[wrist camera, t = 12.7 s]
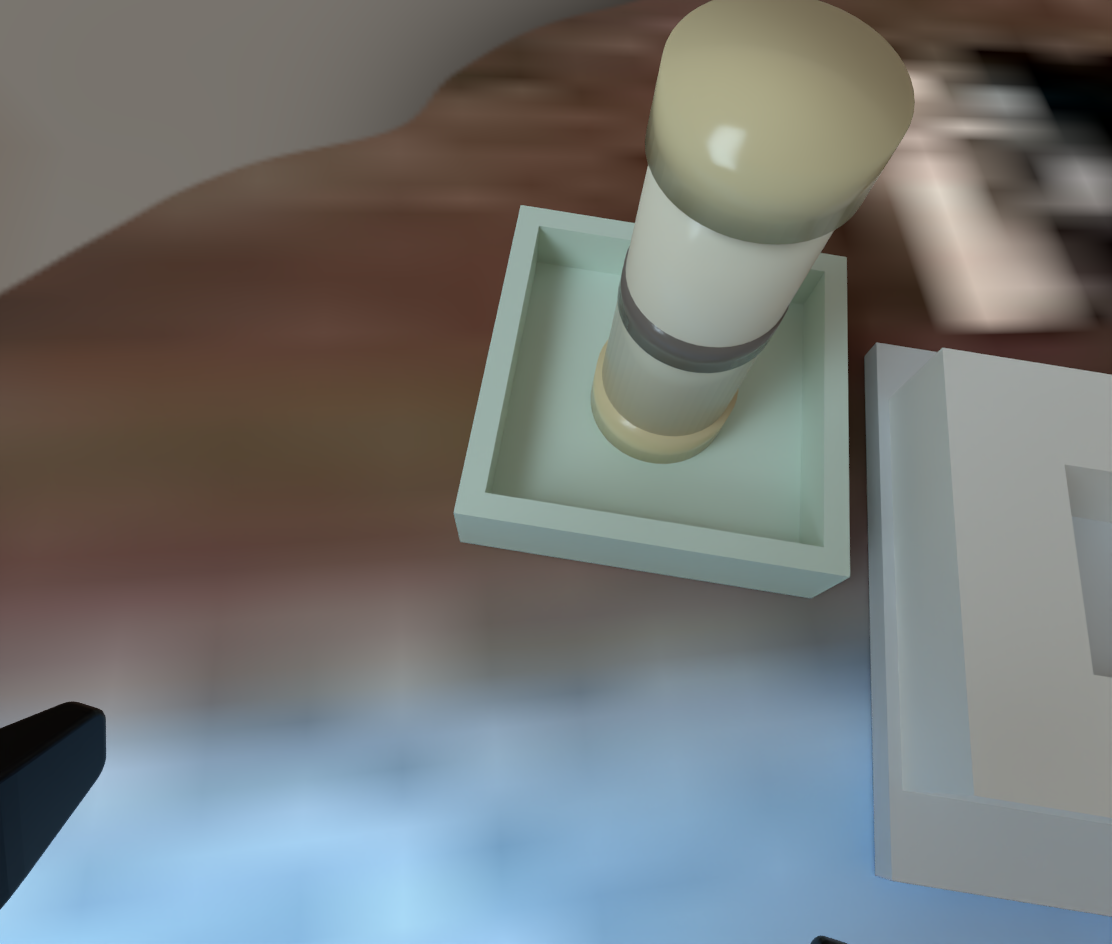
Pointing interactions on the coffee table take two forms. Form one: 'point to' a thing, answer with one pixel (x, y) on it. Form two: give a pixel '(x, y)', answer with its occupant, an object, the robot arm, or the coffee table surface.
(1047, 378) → the grey block with recess
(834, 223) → the cream rounded cylinder
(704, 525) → the parts tray
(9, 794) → the robot arm
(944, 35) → the coffee table surface
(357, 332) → the coffee table surface
